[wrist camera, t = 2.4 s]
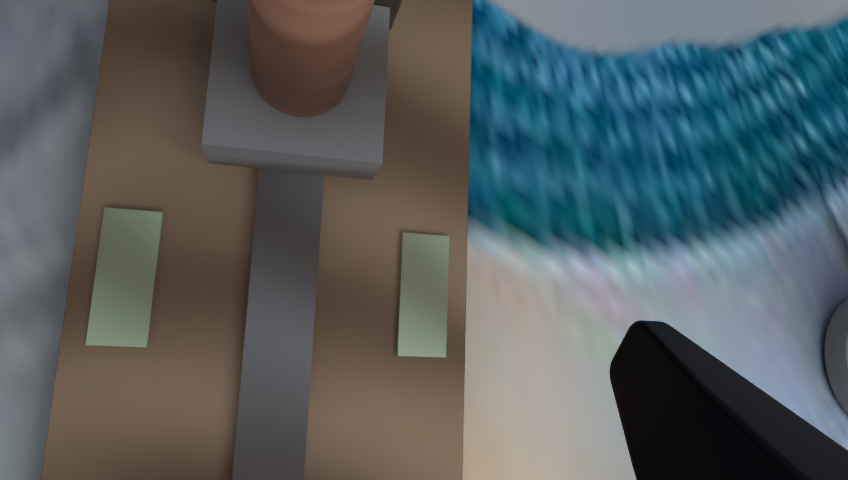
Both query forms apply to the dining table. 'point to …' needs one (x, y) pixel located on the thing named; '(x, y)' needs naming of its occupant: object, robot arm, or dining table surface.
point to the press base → (265, 276)
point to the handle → (298, 86)
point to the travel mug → (838, 354)
